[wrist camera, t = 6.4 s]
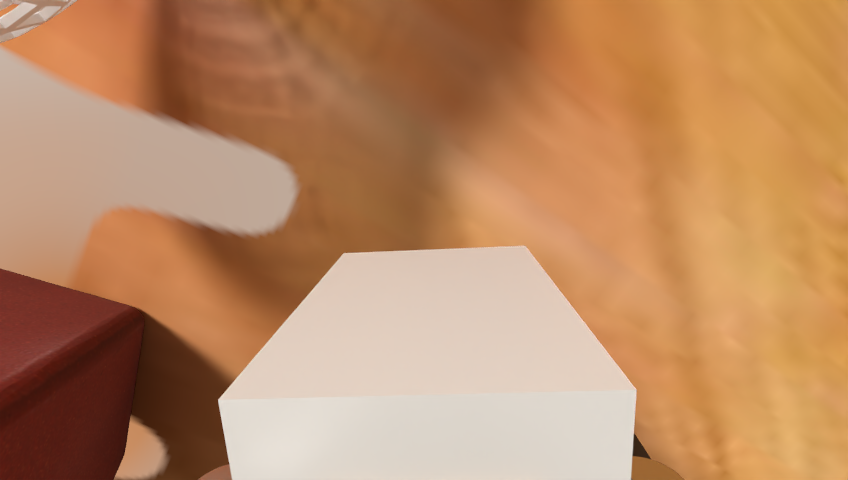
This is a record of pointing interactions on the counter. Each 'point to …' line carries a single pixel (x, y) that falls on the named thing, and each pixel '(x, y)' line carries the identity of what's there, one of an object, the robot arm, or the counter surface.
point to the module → (432, 378)
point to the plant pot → (64, 380)
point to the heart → (28, 15)
